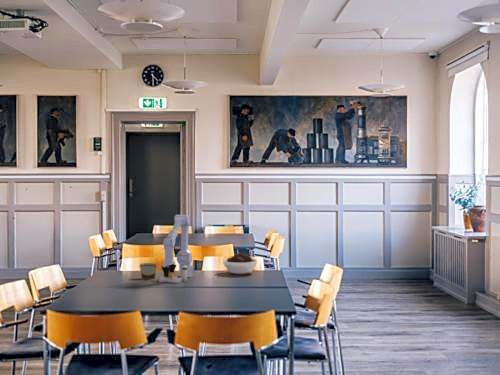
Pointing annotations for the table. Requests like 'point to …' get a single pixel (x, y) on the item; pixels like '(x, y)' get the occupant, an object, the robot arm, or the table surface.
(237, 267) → the white bowl
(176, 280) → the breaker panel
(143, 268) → the food container
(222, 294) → the table surface
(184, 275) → the cable post
